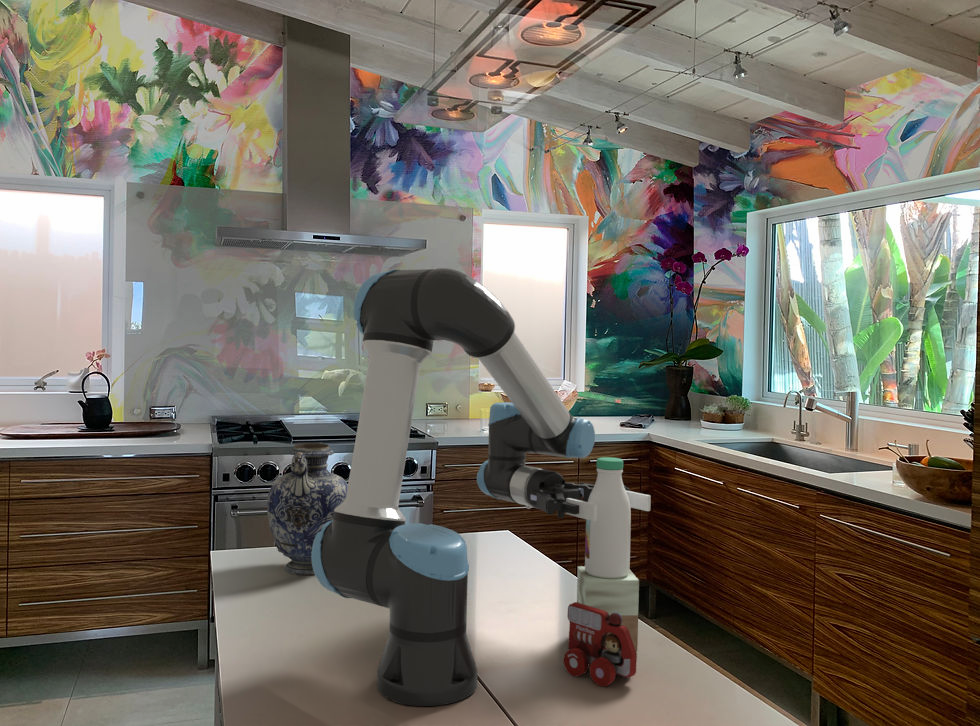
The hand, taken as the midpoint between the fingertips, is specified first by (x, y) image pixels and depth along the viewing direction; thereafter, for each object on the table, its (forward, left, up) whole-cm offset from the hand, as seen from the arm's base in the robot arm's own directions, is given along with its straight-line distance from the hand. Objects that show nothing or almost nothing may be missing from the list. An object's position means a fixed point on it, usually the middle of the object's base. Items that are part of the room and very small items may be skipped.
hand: (623, 508), depth 139 cm
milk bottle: (+3, +2, -12) cm, 13 cm away
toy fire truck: (-11, +6, -24) cm, 27 cm away
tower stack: (+3, +2, -24) cm, 24 cm away
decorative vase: (+48, +60, -24) cm, 80 cm away
